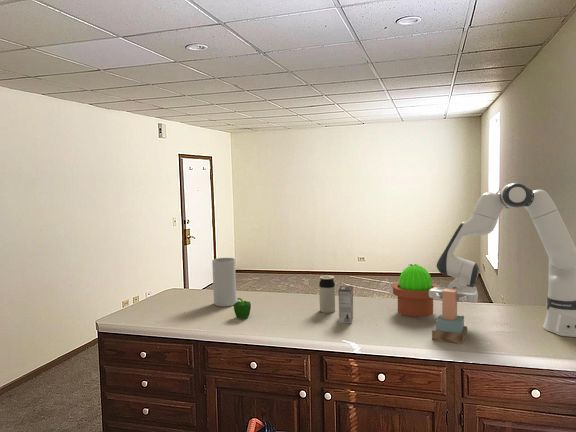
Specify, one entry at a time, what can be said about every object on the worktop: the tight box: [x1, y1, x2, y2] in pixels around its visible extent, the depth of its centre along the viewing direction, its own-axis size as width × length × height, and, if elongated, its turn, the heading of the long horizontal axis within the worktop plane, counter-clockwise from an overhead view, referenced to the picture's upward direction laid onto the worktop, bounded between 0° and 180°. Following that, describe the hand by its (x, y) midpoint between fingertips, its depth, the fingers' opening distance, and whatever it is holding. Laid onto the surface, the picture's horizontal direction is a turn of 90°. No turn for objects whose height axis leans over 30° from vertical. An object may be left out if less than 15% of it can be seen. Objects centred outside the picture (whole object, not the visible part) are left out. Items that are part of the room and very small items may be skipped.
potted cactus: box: [392, 263, 439, 318], centre depth 237 cm, size 22×22×25 cm
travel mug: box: [318, 275, 336, 314], centre depth 244 cm, size 8×8×18 cm
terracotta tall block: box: [441, 289, 458, 320], centre depth 201 cm, size 5×5×12 cm
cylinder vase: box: [211, 257, 237, 308], centre depth 262 cm, size 12×12×25 cm
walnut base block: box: [431, 325, 468, 345], centre depth 202 cm, size 12×12×4 cm
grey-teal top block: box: [435, 313, 465, 334], centre depth 201 cm, size 10×10×4 cm
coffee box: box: [338, 285, 354, 324], centre depth 228 cm, size 9×6×16 cm
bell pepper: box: [233, 297, 252, 320], centre depth 237 cm, size 8×8×10 cm
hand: (449, 299), depth 200 cm, fingers open, 8 cm apart
